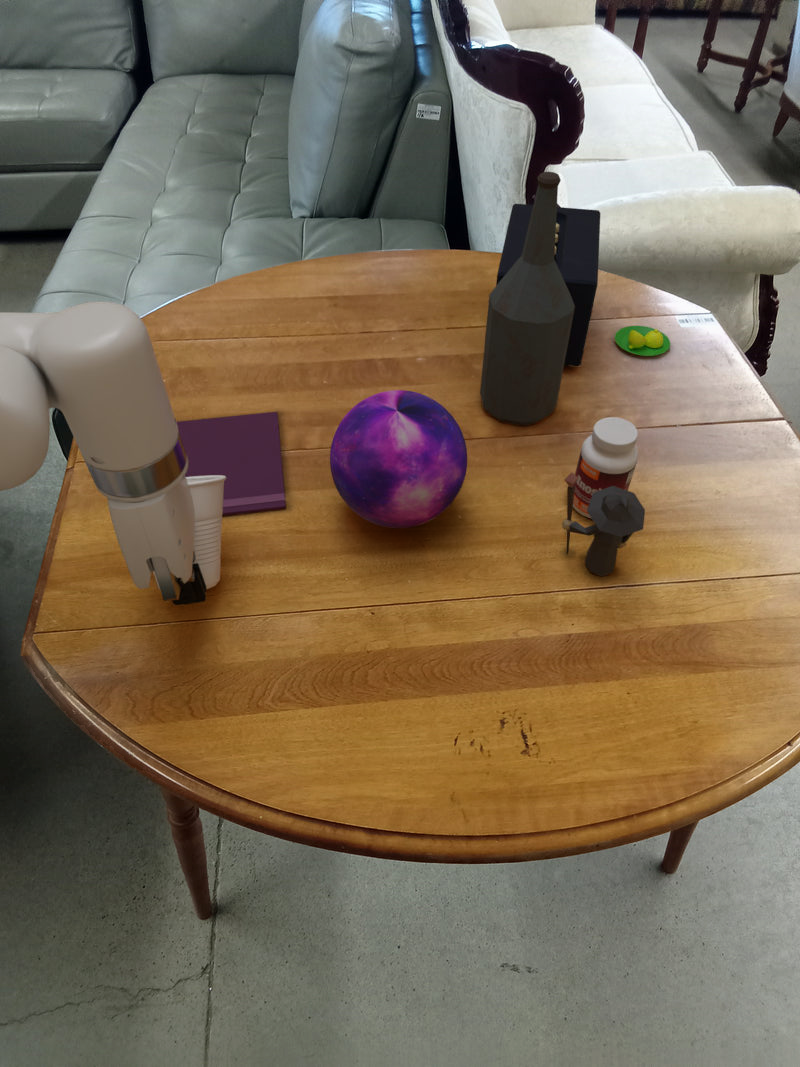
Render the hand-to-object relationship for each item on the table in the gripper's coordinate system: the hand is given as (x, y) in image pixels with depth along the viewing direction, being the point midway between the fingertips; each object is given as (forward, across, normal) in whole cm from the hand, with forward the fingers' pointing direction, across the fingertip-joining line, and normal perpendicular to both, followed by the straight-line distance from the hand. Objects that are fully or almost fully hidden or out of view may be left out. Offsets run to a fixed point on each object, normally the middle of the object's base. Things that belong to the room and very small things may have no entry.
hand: (190, 597), depth 74 cm
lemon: (+6, -42, +63) cm, 76 cm away
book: (+4, -24, +2) cm, 24 cm away
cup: (+2, -3, -1) cm, 4 cm away
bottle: (+6, -31, +41) cm, 52 cm away
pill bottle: (+6, -11, +45) cm, 47 cm away
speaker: (+6, -48, +49) cm, 69 cm away
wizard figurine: (+6, -2, +42) cm, 42 cm away
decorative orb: (+5, -13, +22) cm, 27 cm away
